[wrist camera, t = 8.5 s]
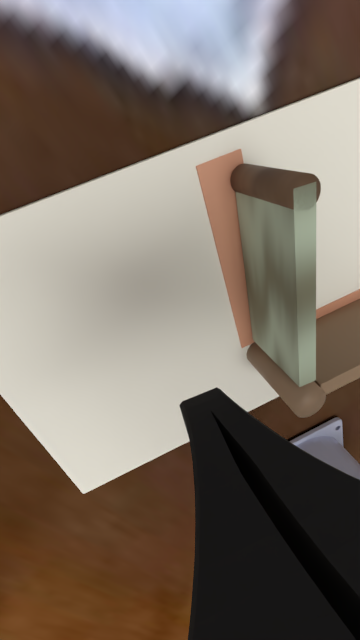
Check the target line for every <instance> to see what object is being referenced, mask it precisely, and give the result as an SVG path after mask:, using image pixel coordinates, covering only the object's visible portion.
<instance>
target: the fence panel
mask: <svg viewBox="0 0 360 640" xmlns="http://www.w3.org/2000/svg"><path fill="white" fill-rule="evenodd" d="M230 182H231V186H232V188H233V190H234V191H235V193H236V201H237V210H238V218H239V227H240V235H241V244H242V252H243V260H244V269H245V277H246V286H247V294H248V303H249V311H250V320H251V328H252V337H253V340H254V342H255V343H256V344H257V345H258V346H259V347H260V348H261V349H262V350H263V351H264V352H265V353H266V354H267V355H268V356H269V357H270V358H271V359H272V360H273V361H274V362H275V363H276V364H277V365H278V366H279V367H280V368H281V369H282V370H283V371H284V372H285V373H286V374H287V375H288V376H289V377H290V378H291V379H292V380H293V381H294V382H295V383H296V384H297V385H298V386H299V387H301V386H304V385H306V384H308V383H311V382H313V381H315V380H316V202H317V201H318V199H319V196H320V192H321V184H320V181H319V179H318V178H317V176H315V175H314V174H311V173H304V172H298V171H291V170H285V169H278V168H272V167H265V166H259V165H252V164H245V163H244V164H240V165H238V166H237V167H236V168H235V169H234V170H233V172H232V174H231V179H230Z"/></svg>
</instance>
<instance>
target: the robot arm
mask: <svg viewBox="0 0 360 640" xmlns="http://www.w3.org/2000/svg"><path fill="white" fill-rule="evenodd" d="M179 406H180V409H181V413H182V416H183V420H184V423H185V426H186V430H187V433H188V437H189V440H190V446H191V453H192V460H193V472H194V485H195V517H196V527H195V562H194V578H193V591H192V605H191V616H190V626H189V635H188V640H360V464H359V463H358V462H357V461H356V460H355V459H354V458H353V457H352V456H351V455H350V454H349V452H348V451H347V450H346V449H345V448H344V447H343V428H342V420H341V419H340V418H339V417H336V418H333V419H331V420H329V421H328V422H326V423H324V424H322V425H320V426H318V427H316V428H314V429H312V430H310V431H308V432H306V433H304V434H303V435H301V436H299V437H297V438H295V439H293V440H291V441H288V440H286V439H285V438H283V437H281V436H280V435H278V434H277V433H275V432H274V431H273V430H271V429H270V428H268V427H267V426H265V425H264V424H263V423H261V422H260V421H259V420H257V419H256V418H254V417H253V416H252V415H250V414H249V413H248V412H247V411H245V410H244V409H243V408H242V407H240V406H239V405H238V404H237V403H235V402H234V401H233V400H232V399H231V398H229V397H228V396H227V395H226V394H225V393H224V392H223V391H222V390H221V389H219V388H217V387H216V388H214V389H211V390H209V391H207V392H204V393H202V394H199V395H197V396H194V397H192V398H189V399H187V400H184V401H182V402H181V404H180V405H179Z"/></svg>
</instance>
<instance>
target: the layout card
mask: <svg viewBox="0 0 360 640" xmlns="http://www.w3.org/2000/svg"><path fill="white" fill-rule="evenodd" d="M244 163H245V164H252V165H259V166H265V167H272V168H278V169H285V170H291V171H298V172H304V173H311V174H314V175H315V176H317V178H318V179H319V181H320V184H321V192H320V196H319V199H318V201H317V202H316V380H315V381H313V382H311V383H308V384H306V385H304V386H301V387H299V386H298V385H297V384H296V383H295V382H294V381H293V380H292V379H291V378H290V377H289V376H288V375H287V374H286V373H285V372H284V371H283V370H282V369H281V368H280V367H279V366H278V365H277V364H276V363H275V362H274V361H273V360H272V359H271V358H270V357H269V356H268V355H267V354H266V353H265V352H264V351H263V350H262V349H261V348H260V347H259V346H258V345H257V344H256V343H255V342H254V340H253V337H252V328H251V320H250V311H249V303H248V294H247V286H246V277H245V269H244V260H243V252H242V244H241V235H240V227H239V218H238V210H237V201H236V193H235V191H234V190H233V188H232V186H231V182H230V179H231V174H232V172H233V170H234V169H235V168H236V167H237V166H238V165H240V164H244ZM358 378H360V78H357V79H354V80H352V81H349V82H346V83H344V84H341V85H339V86H336V87H333V88H331V89H328V90H326V91H323V92H320V93H318V94H315V95H312V96H310V97H307V98H305V99H302V100H299V101H297V102H294V103H292V104H289V105H286V106H284V107H281V108H278V109H276V110H273V111H271V112H268V113H265V114H263V115H260V116H258V117H255V118H252V119H250V120H247V121H244V122H242V123H239V124H237V125H234V126H231V127H229V128H226V129H224V130H221V131H218V132H216V133H213V134H210V135H208V136H205V137H203V138H200V139H197V140H195V141H192V142H190V143H187V144H184V145H182V146H179V147H176V148H174V149H171V150H169V151H166V152H163V153H161V154H158V155H156V156H153V157H150V158H148V159H145V160H142V161H140V162H137V163H135V164H132V165H129V166H127V167H124V168H122V169H119V170H116V171H114V172H111V173H108V174H106V175H103V176H101V177H98V178H95V179H93V180H90V181H88V182H85V183H82V184H80V185H77V186H74V187H72V188H69V189H67V190H64V191H61V192H59V193H56V194H53V195H51V196H48V197H46V198H43V199H40V200H38V201H35V202H33V203H30V204H27V205H25V206H22V207H19V208H17V209H14V210H12V211H9V212H6V213H4V214H1V215H0V395H1V396H2V397H3V398H4V399H5V401H6V402H7V403H8V404H9V405H10V407H11V408H12V409H13V410H14V411H15V413H16V414H17V415H18V416H19V417H20V419H21V420H22V421H23V422H24V423H25V425H26V426H27V427H28V428H29V429H30V431H31V432H32V433H33V434H34V435H35V437H36V438H37V439H38V440H39V441H40V443H41V444H42V445H43V446H44V447H45V449H46V450H47V451H48V452H49V453H50V455H51V456H52V457H53V458H54V459H55V461H56V462H57V463H58V464H59V465H60V467H61V468H62V469H63V470H64V471H65V473H66V474H67V475H68V476H69V477H70V479H71V480H72V481H73V482H74V483H75V485H76V486H77V487H78V488H79V489H80V491H81V492H82V493H83V494H85V493H87V492H89V491H91V490H93V489H95V488H97V487H99V486H101V485H103V484H105V483H107V482H109V481H111V480H113V479H115V478H117V477H119V476H121V475H123V474H125V473H127V472H129V471H131V470H133V469H135V468H137V467H139V466H141V465H143V464H145V463H147V462H149V461H151V460H153V459H155V458H157V457H159V456H161V455H163V454H165V453H167V452H169V451H171V450H173V449H175V448H177V447H179V446H181V445H183V444H185V443H187V442H189V441H190V440H189V437H188V433H187V430H186V426H185V423H184V420H183V416H182V413H181V409H180V406H179V405H180V404H181V402H182V401H184V400H187V399H189V398H192V397H194V396H197V395H199V394H202V393H204V392H207V391H209V390H211V389H214V388H216V387H217V388H219V389H221V390H222V391H223V392H224V393H225V394H226V395H227V396H228V397H229V398H231V399H232V400H233V401H234V402H235V403H237V404H238V405H239V406H240V407H242V408H243V409H244V410H245V411H247V412H249V411H251V410H253V409H255V408H257V407H259V406H261V405H263V404H265V403H267V402H269V401H271V400H273V399H275V398H277V397H279V396H280V397H281V398H282V400H283V401H284V402H285V403H286V404H287V405H288V406H289V408H290V409H291V410H292V411H293V412H294V413H295V414H296V415H297V416H298V417H301V418H305V417H309V416H311V415H313V414H315V413H316V412H317V411H318V410H319V409H320V408H321V407H322V406H323V404H324V402H325V400H326V394H328V393H330V392H332V391H334V390H336V389H338V388H340V387H342V386H344V385H346V384H348V383H350V382H352V381H354V380H356V379H358Z"/></svg>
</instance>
